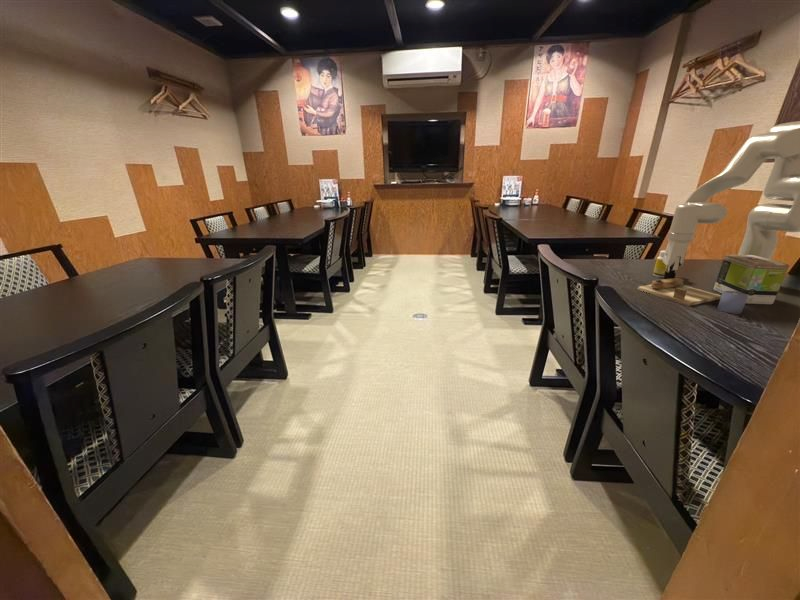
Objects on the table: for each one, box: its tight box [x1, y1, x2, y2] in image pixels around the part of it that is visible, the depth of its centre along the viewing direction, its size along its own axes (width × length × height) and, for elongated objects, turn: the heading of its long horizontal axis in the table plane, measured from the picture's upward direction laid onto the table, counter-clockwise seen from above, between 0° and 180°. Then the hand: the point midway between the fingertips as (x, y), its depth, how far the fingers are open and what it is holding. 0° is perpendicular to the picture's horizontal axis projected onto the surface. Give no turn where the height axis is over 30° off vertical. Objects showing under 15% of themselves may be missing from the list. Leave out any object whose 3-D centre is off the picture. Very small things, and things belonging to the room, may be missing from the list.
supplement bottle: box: [652, 249, 667, 278], centre depth 144 cm, size 6×6×11 cm
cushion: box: [717, 291, 748, 315], centre depth 109 cm, size 6×6×6 cm
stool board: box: [636, 283, 722, 307], centre depth 124 cm, size 18×19×5 cm
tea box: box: [713, 254, 790, 305], centre depth 118 cm, size 15×10×15 cm
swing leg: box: [650, 276, 690, 289], centre depth 128 cm, size 15×4×3 cm, turn 102°
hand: (667, 281), depth 132 cm, fingers closed
